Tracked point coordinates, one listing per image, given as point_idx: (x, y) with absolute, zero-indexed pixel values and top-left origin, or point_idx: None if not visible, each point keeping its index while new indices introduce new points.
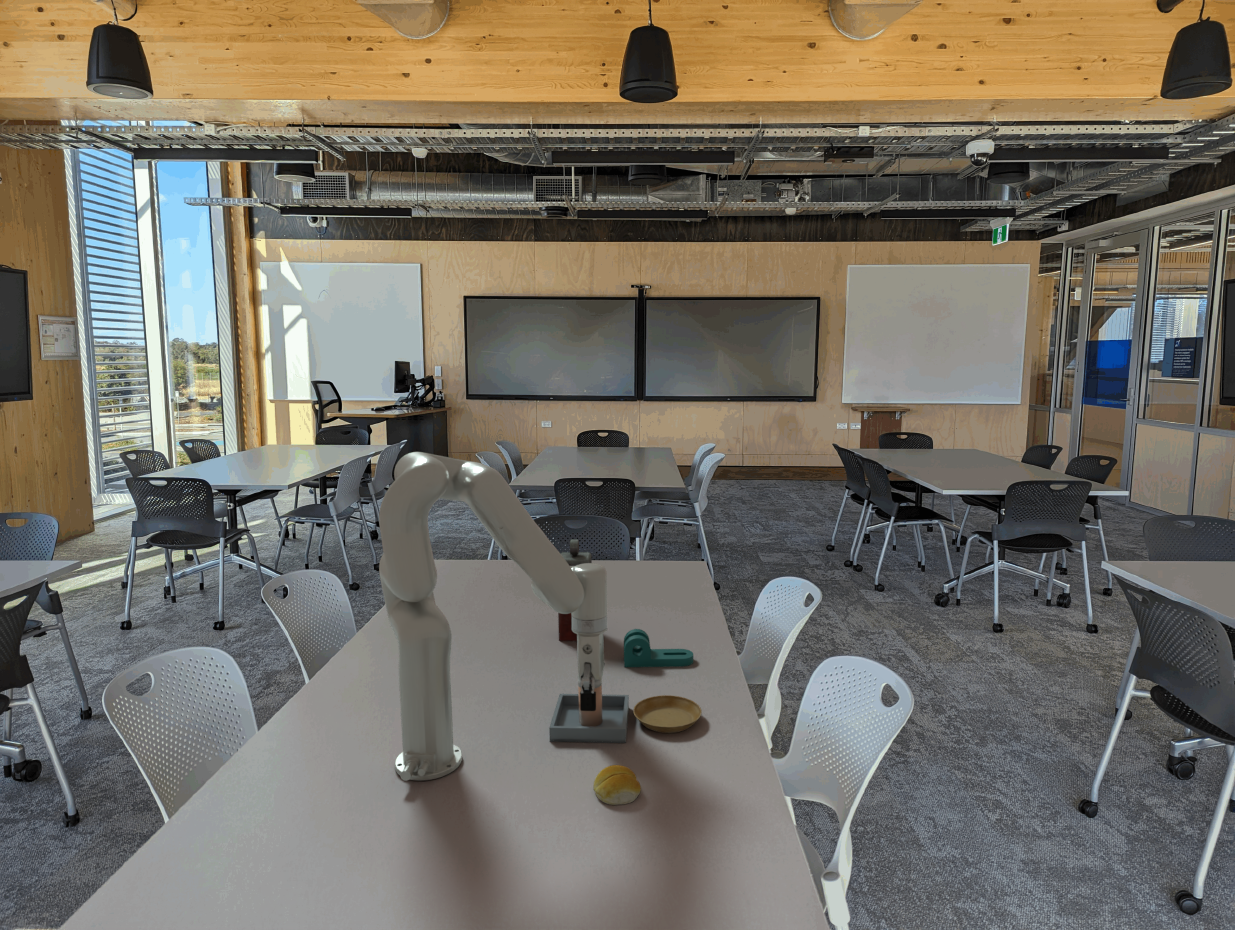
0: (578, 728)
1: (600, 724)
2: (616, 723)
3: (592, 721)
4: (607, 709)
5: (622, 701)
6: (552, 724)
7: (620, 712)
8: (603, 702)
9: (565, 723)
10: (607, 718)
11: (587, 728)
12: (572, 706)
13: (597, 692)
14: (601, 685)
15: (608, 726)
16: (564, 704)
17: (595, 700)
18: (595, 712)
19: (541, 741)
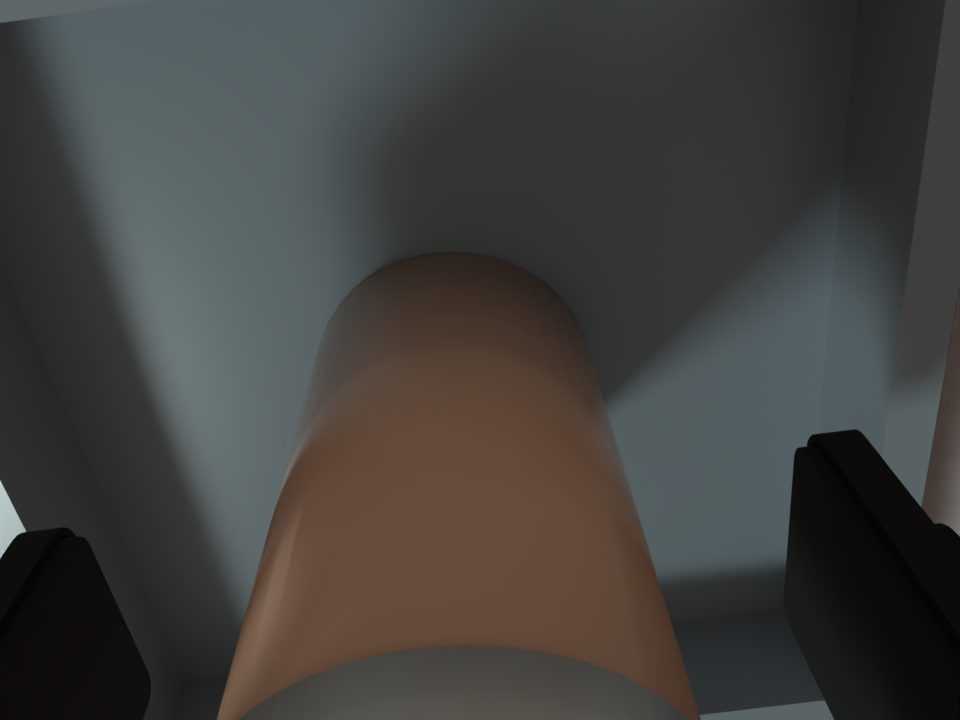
0: (923, 482)
1: (510, 260)
2: (448, 58)
3: (593, 367)
4: (93, 257)
5: None
6: (815, 712)
7: (111, 62)
8: (5, 346)
9: None
10: (338, 208)
11: (940, 390)
12: (172, 609)
13: (620, 593)
14: (438, 624)
15: (549, 152)
16: (175, 679)
17: (947, 548)
18: (592, 395)
19: None
